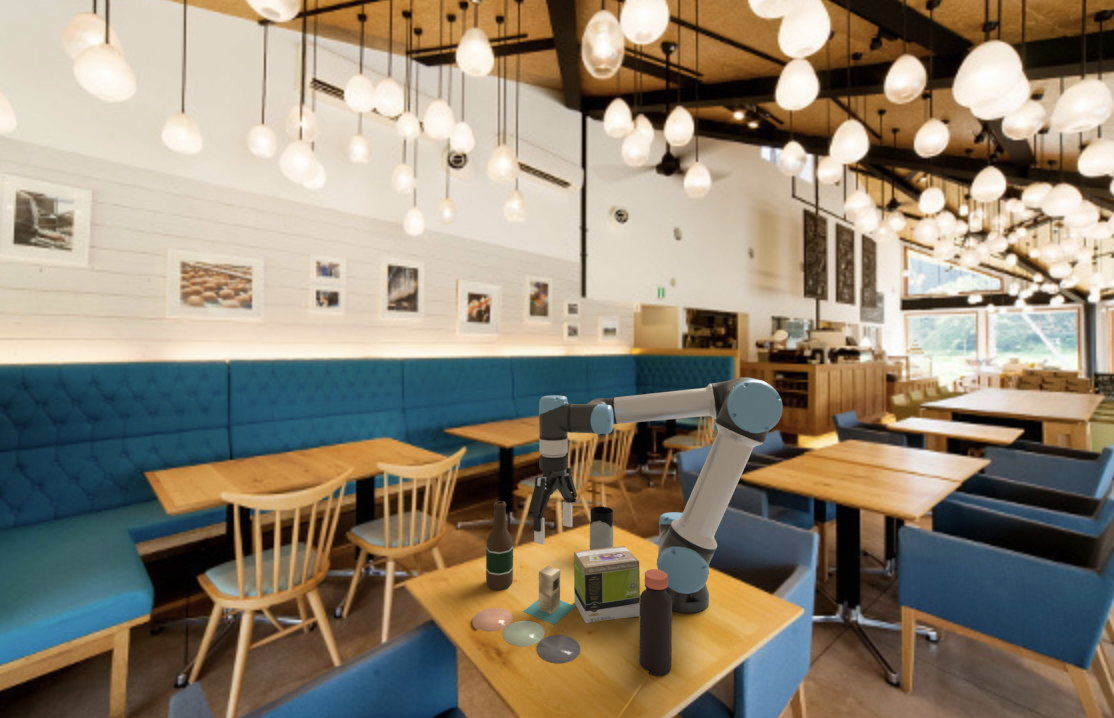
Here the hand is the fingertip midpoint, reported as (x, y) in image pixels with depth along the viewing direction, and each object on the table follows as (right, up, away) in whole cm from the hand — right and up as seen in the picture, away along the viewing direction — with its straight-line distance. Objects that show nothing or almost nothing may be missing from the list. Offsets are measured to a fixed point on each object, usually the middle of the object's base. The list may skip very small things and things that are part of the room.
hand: (554, 534), depth 122 cm
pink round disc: (-15, -20, -6) cm, 26 cm away
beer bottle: (-16, -20, +12) cm, 28 cm away
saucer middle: (-7, -20, -12) cm, 24 cm away
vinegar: (+22, -20, -22) cm, 37 cm away
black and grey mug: (+16, -19, +35) cm, 43 cm away
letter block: (-1, -19, -1) cm, 19 cm away
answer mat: (-1, -20, -1) cm, 20 cm away
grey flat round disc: (+1, -20, -18) cm, 27 cm away
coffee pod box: (+14, -20, -1) cm, 24 cm away
